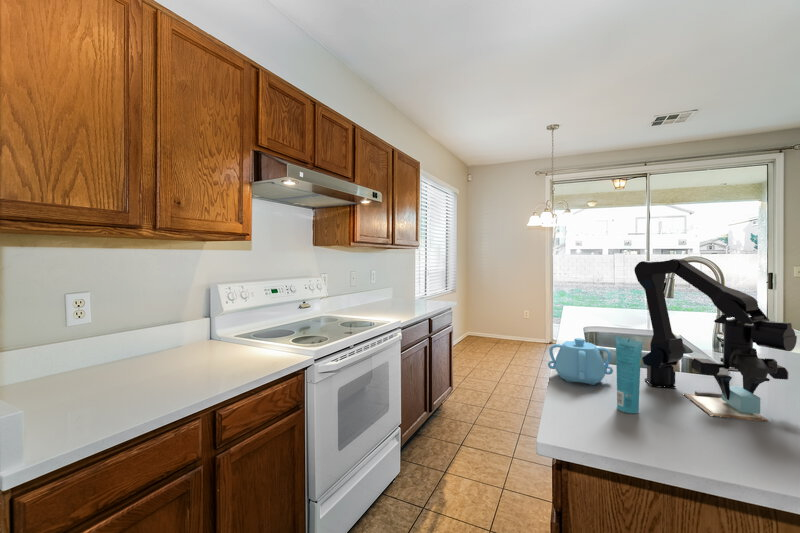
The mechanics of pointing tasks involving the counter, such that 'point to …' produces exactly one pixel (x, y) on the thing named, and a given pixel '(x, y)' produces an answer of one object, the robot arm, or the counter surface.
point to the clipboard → (720, 406)
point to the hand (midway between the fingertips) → (736, 400)
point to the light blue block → (743, 400)
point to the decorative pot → (580, 362)
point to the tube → (628, 373)
